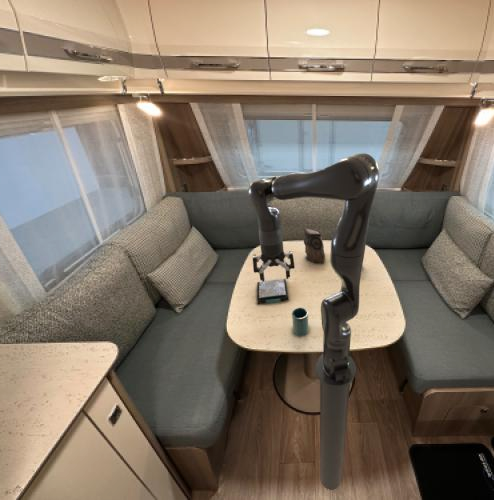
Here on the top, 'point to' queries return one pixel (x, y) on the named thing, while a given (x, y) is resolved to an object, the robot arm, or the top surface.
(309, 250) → the owl
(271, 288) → the scale
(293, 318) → the cup
